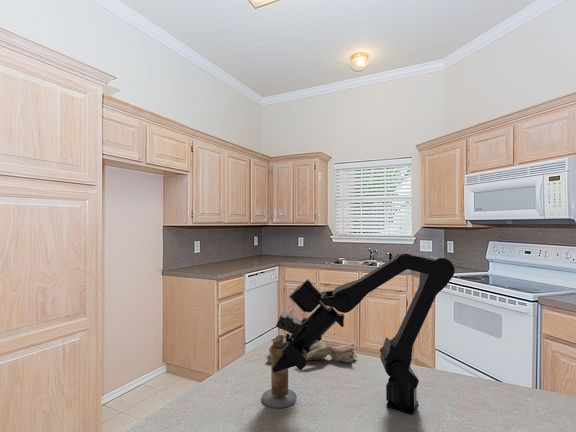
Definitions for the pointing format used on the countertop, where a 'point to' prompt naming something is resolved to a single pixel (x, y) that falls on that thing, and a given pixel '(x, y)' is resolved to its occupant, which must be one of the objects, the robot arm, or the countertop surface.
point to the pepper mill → (281, 377)
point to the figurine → (328, 352)
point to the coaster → (279, 399)
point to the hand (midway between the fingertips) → (274, 366)
